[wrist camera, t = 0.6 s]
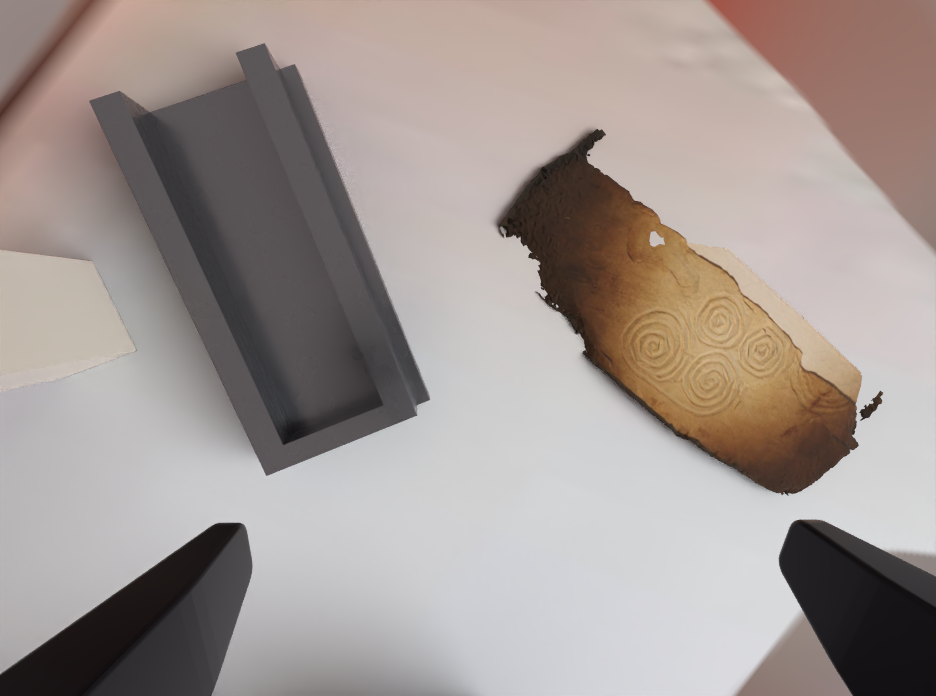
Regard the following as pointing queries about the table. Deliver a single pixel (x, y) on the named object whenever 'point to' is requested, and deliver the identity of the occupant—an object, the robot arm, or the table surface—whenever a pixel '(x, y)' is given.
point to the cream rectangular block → (54, 319)
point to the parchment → (688, 329)
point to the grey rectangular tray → (269, 260)
